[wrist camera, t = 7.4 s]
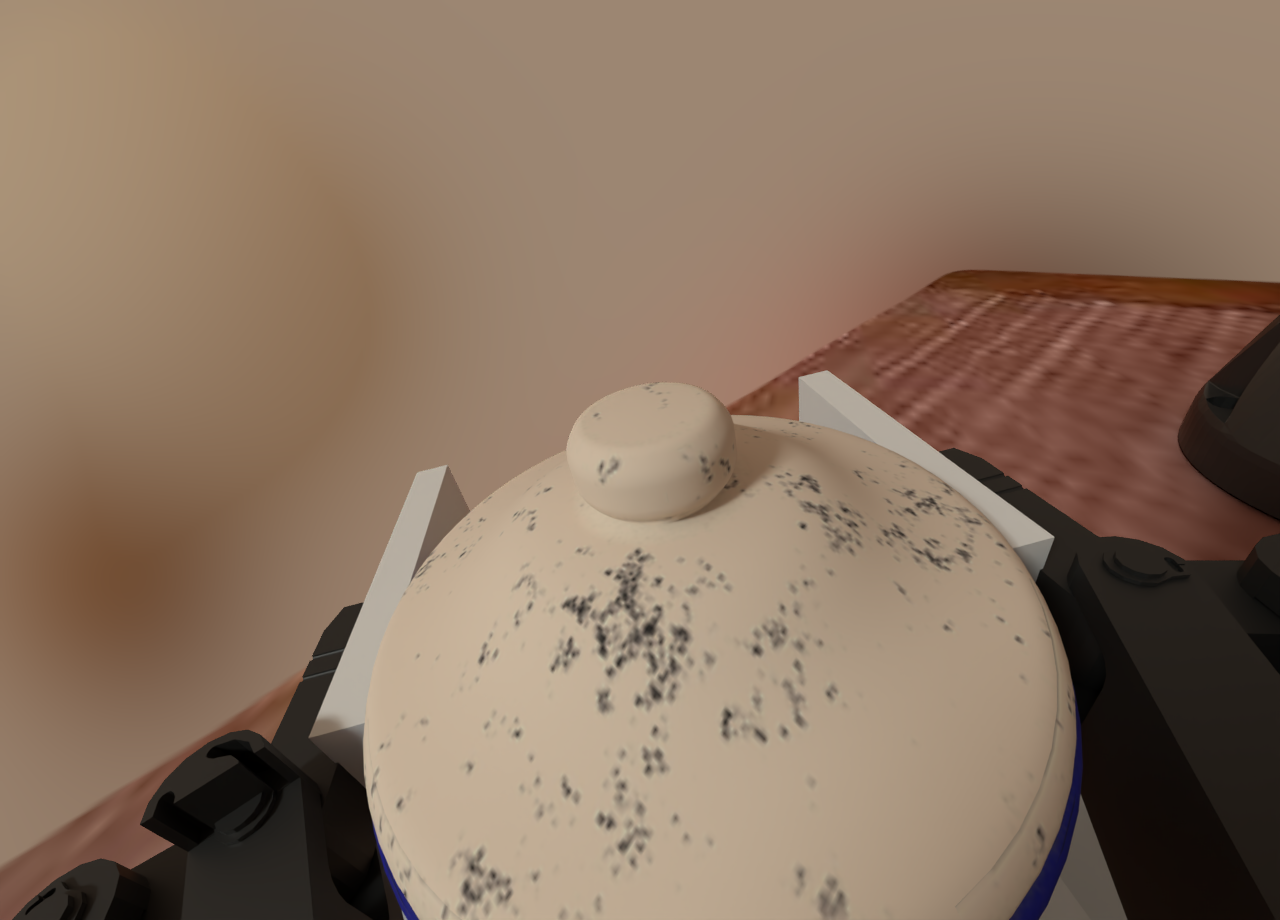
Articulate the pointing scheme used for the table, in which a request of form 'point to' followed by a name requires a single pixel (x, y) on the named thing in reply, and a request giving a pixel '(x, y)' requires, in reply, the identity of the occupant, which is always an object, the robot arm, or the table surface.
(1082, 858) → the cradle
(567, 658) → the teacup with lid
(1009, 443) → the table surface
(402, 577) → the robot arm
